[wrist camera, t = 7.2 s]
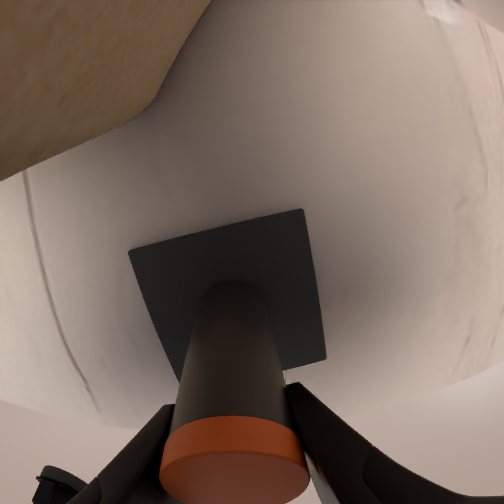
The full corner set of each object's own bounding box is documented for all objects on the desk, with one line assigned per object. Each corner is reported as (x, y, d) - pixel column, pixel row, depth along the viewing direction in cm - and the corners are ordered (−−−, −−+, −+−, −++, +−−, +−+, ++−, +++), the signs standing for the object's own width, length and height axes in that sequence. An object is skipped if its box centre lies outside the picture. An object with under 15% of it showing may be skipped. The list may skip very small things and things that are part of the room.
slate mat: (324, 355, 15) (326, 359, 14) (183, 384, 15) (182, 389, 14) (301, 208, 13) (303, 209, 12) (130, 249, 13) (127, 252, 12)
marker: (273, 334, 14) (315, 501, 5) (208, 348, 14) (191, 516, 5) (259, 272, 13) (302, 437, 4) (188, 288, 13) (131, 455, 4)
